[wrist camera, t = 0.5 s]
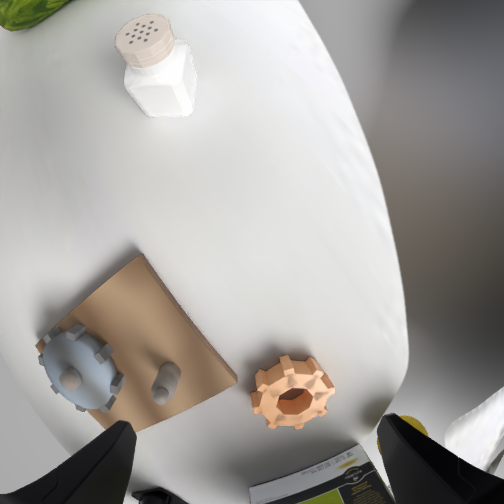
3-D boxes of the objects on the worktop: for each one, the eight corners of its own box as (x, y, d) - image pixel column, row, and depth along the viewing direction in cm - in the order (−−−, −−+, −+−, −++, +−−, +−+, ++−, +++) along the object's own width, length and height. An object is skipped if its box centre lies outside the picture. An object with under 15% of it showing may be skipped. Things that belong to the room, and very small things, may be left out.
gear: (277, 424, 23) (281, 439, 21) (236, 382, 22) (237, 397, 20) (336, 388, 23) (345, 402, 21) (302, 341, 22) (310, 353, 20)
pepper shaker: (199, 78, 19) (183, 5, 10) (193, 118, 20) (169, 55, 10) (154, 80, 19) (119, 14, 10) (146, 119, 19) (99, 64, 10)
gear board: (119, 433, 22) (105, 464, 17) (41, 341, 21) (11, 361, 15) (237, 375, 22) (239, 413, 17) (142, 253, 21) (116, 263, 15)
